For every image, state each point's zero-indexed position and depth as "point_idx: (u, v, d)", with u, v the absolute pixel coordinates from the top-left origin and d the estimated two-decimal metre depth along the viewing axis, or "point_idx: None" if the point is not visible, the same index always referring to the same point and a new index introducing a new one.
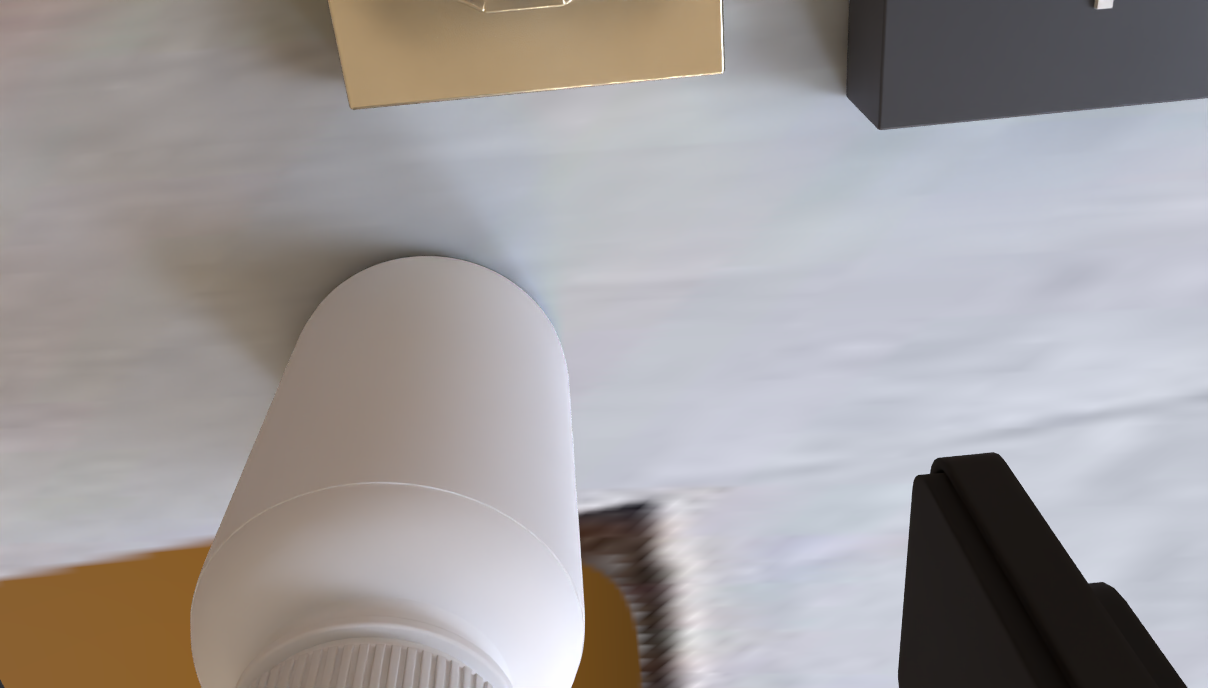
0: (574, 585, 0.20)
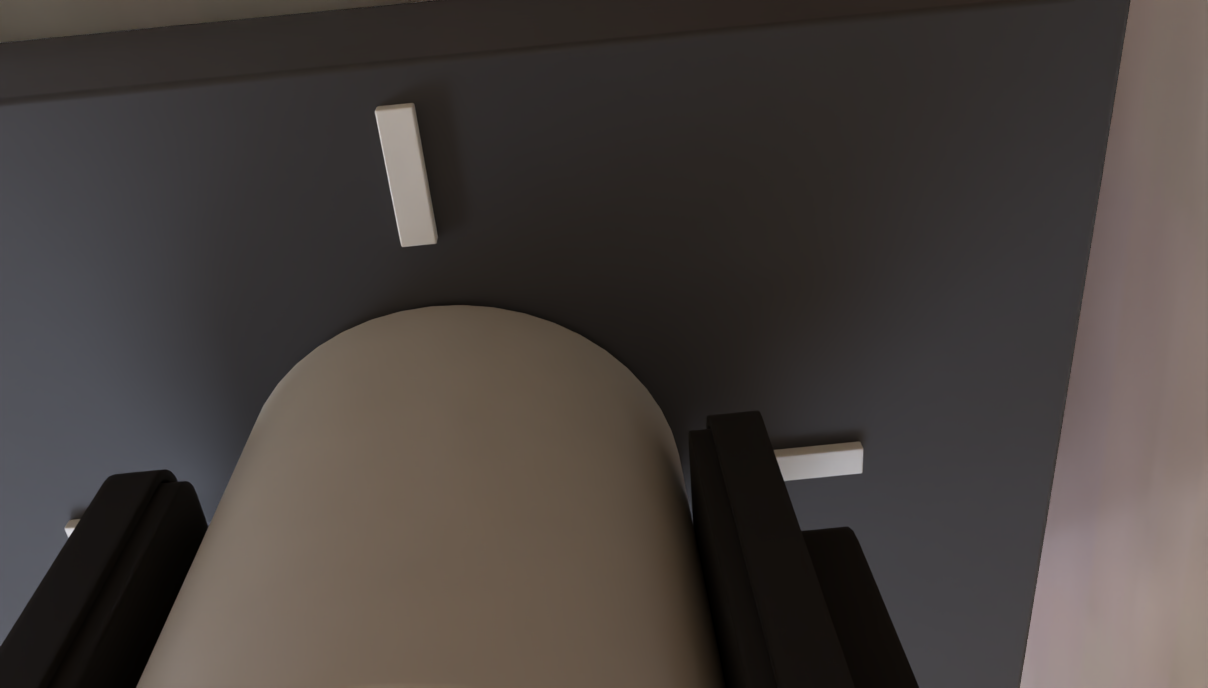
0: None
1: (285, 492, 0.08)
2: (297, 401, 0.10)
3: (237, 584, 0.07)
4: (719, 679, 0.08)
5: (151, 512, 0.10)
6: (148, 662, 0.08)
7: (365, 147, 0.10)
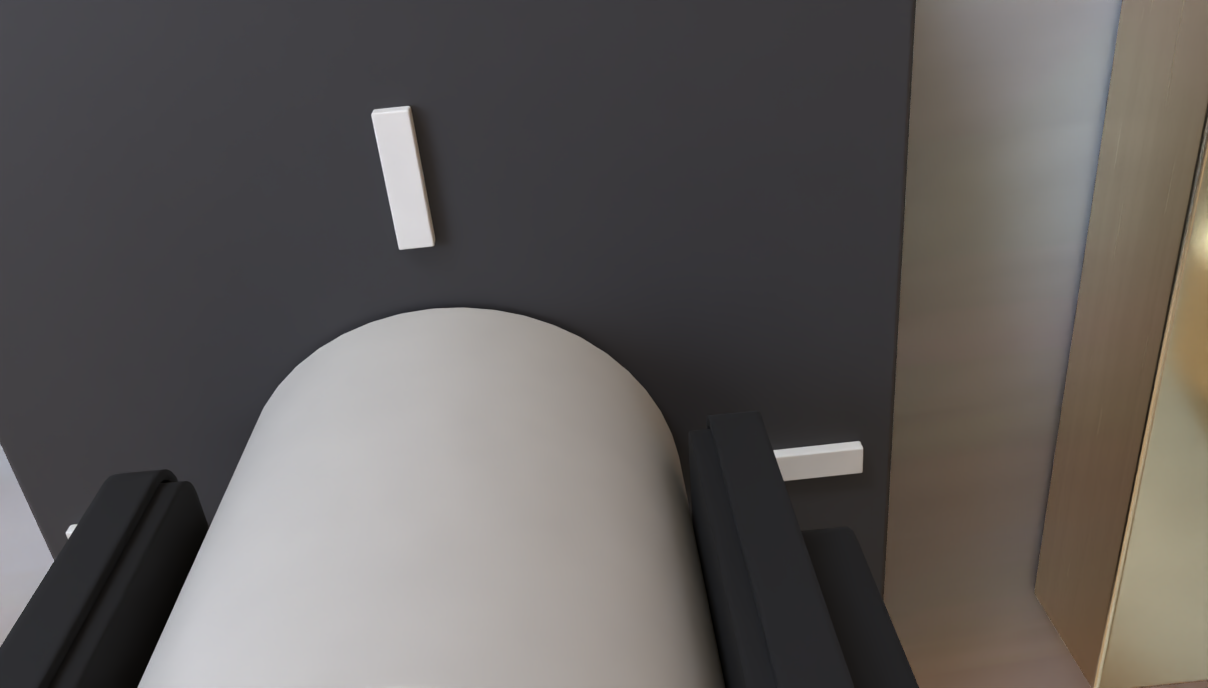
0: None
1: (285, 494, 0.08)
2: (299, 403, 0.10)
3: (237, 586, 0.07)
4: (719, 681, 0.08)
5: (152, 512, 0.10)
6: (148, 664, 0.08)
7: (826, 430, 0.12)
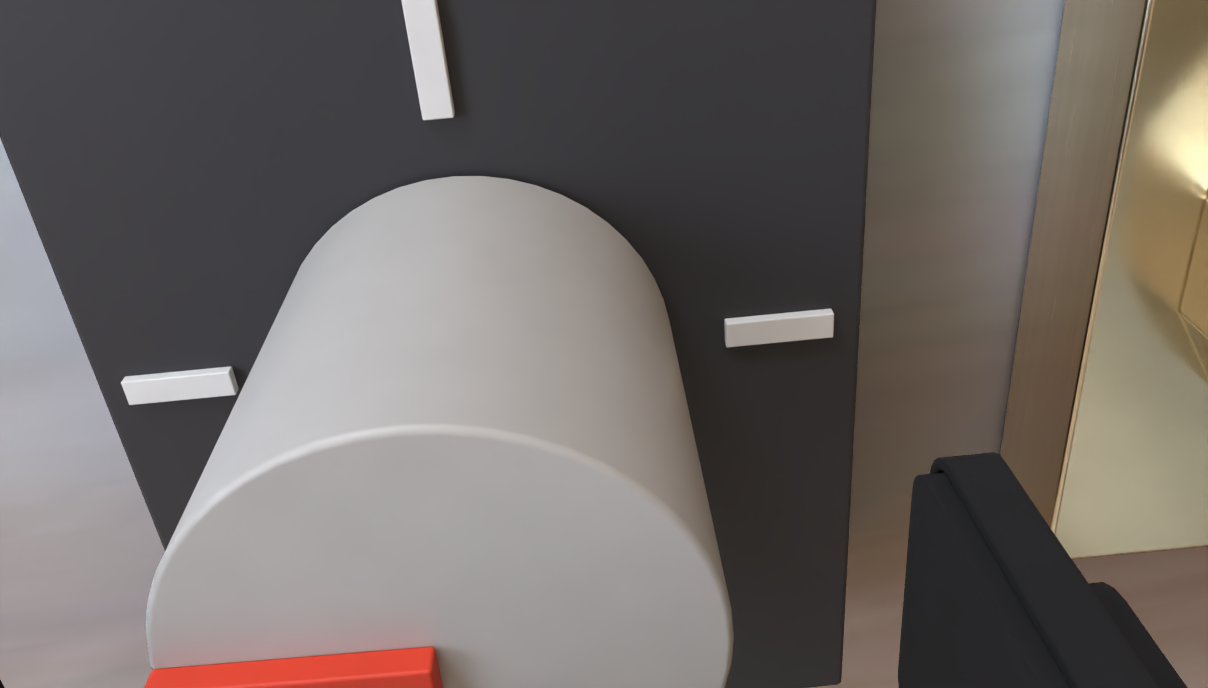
0: None
1: (332, 307, 0.10)
2: (338, 250, 0.11)
3: (296, 370, 0.09)
4: (700, 474, 0.10)
5: None
6: (217, 442, 0.09)
7: (801, 298, 0.13)
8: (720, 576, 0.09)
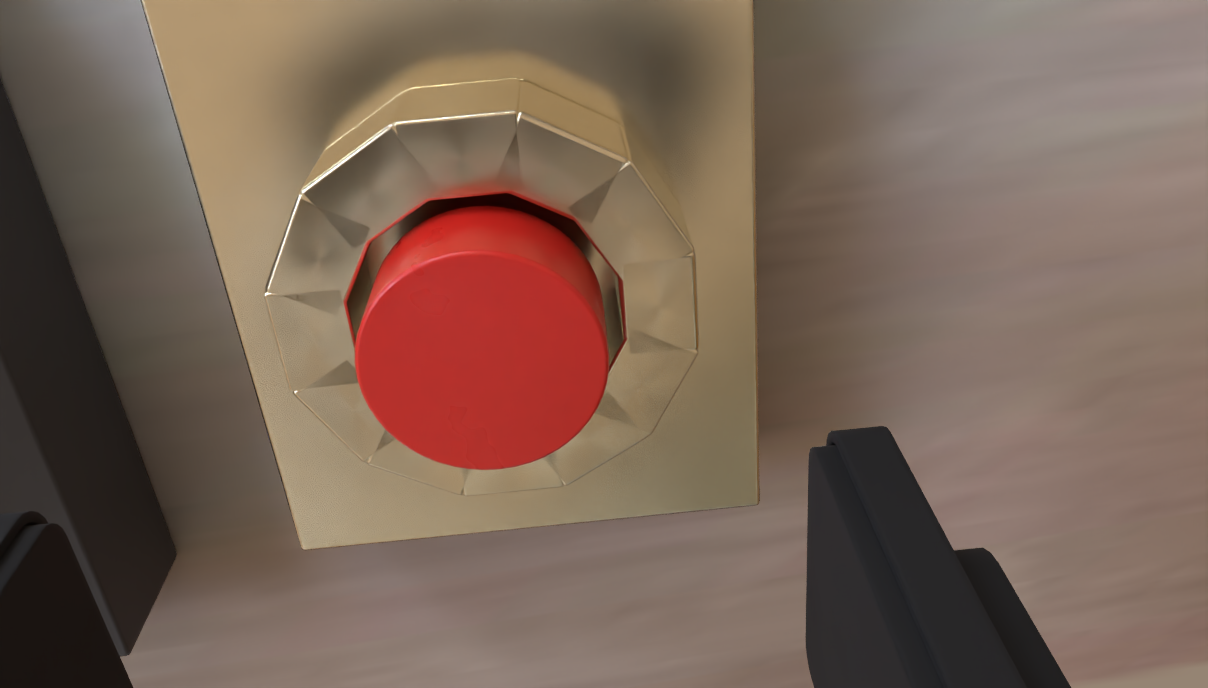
0: None
1: None
2: None
3: None
4: None
5: (8, 558, 0.09)
6: None
7: None
8: None
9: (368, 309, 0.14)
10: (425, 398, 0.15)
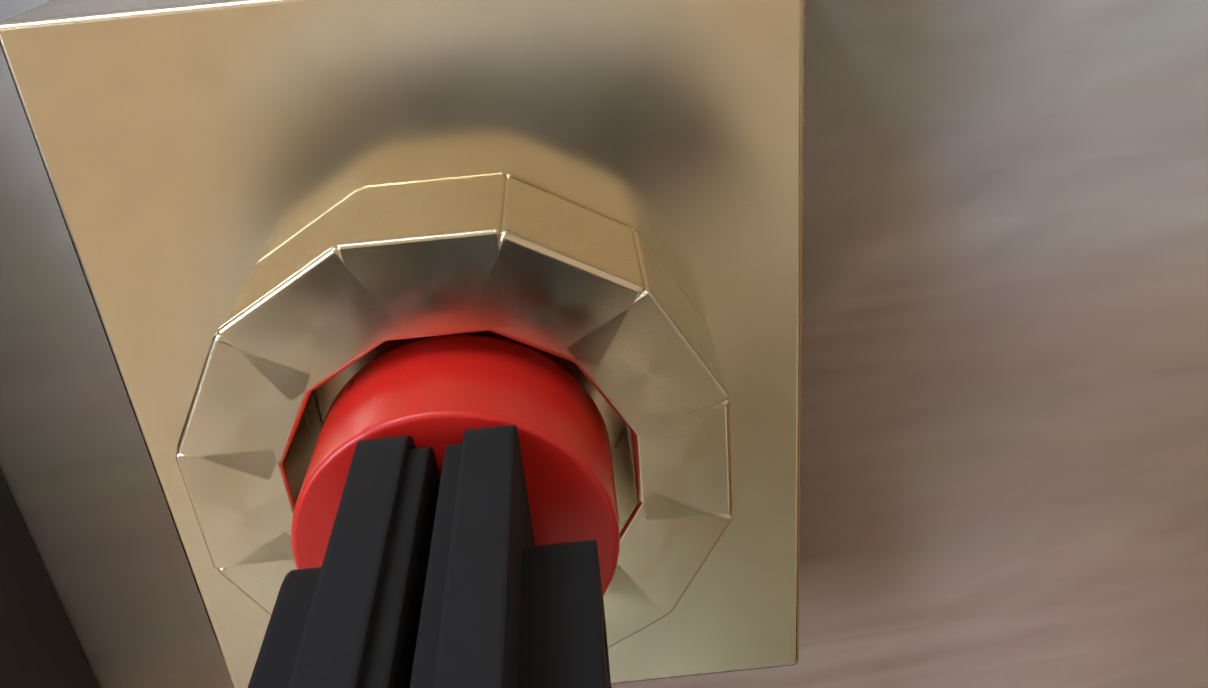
0: None
1: None
2: None
3: None
4: None
5: (410, 475, 0.10)
6: None
7: None
8: None
9: (306, 483, 0.11)
10: None
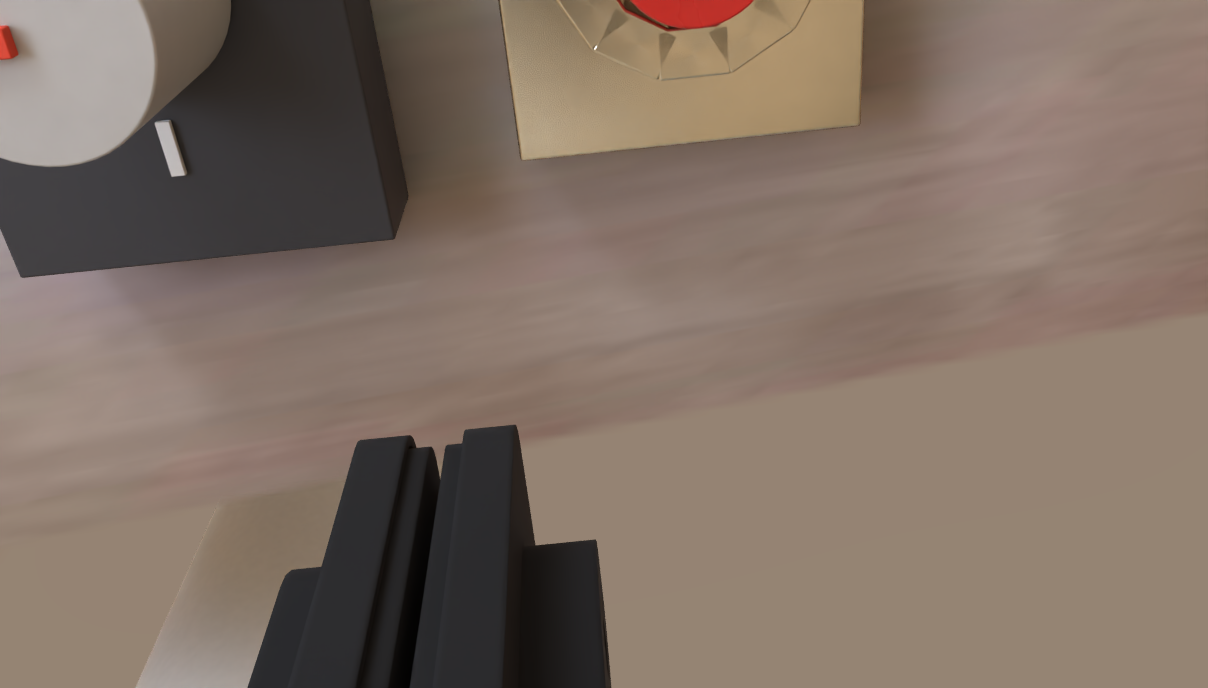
0: None
1: None
2: None
3: None
4: None
5: (410, 475, 0.10)
6: None
7: None
8: None
9: None
10: None
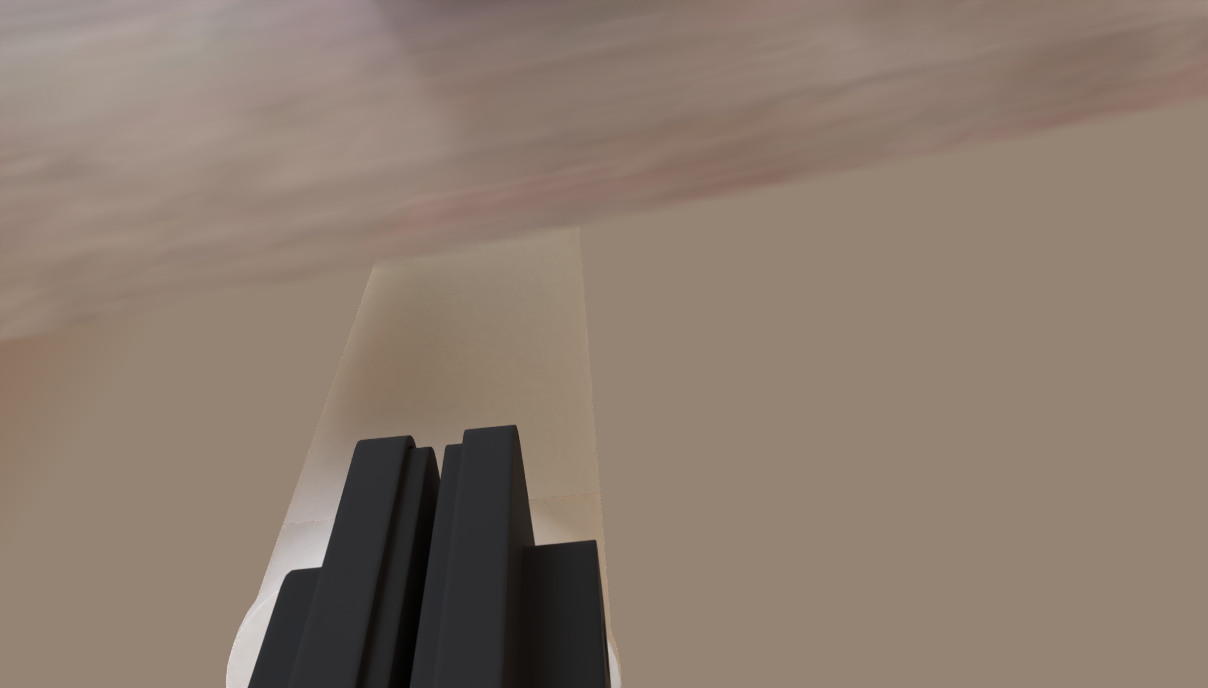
0: None
1: None
2: None
3: None
4: None
5: (410, 475, 0.10)
6: None
7: None
8: None
9: None
10: None
